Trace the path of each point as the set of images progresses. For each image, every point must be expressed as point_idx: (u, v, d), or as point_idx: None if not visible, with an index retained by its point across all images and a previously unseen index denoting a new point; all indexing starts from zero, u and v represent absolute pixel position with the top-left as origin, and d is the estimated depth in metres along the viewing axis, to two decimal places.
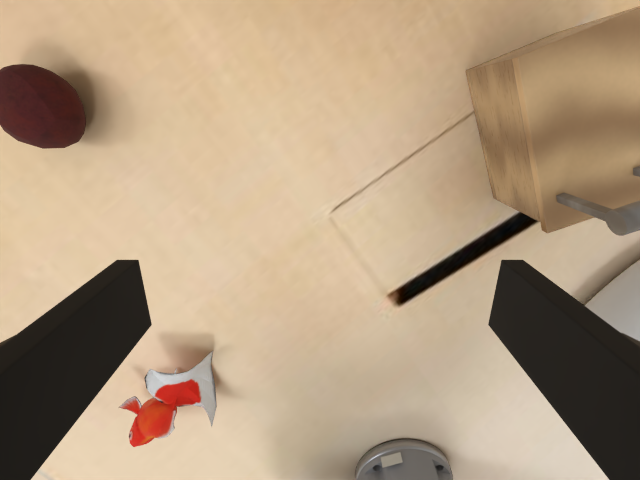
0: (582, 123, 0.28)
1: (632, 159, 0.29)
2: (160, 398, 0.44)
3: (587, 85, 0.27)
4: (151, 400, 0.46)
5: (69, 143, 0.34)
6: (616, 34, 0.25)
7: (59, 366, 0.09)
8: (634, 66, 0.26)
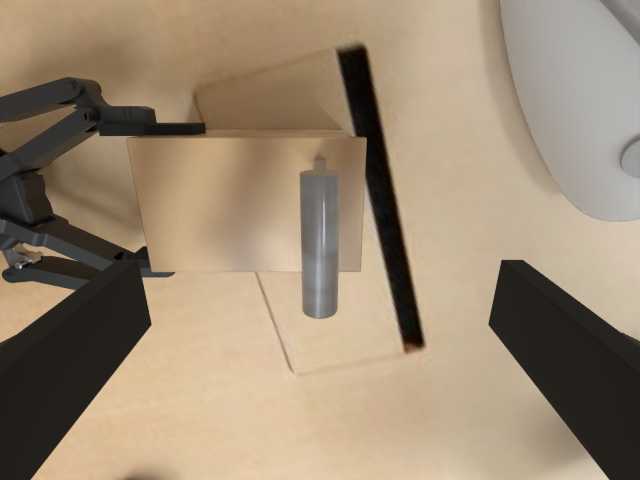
0: (238, 219, 0.24)
1: (303, 167, 0.22)
2: None
3: (197, 210, 0.23)
4: None
5: None
6: (150, 174, 0.22)
7: (59, 366, 0.09)
8: (190, 157, 0.22)
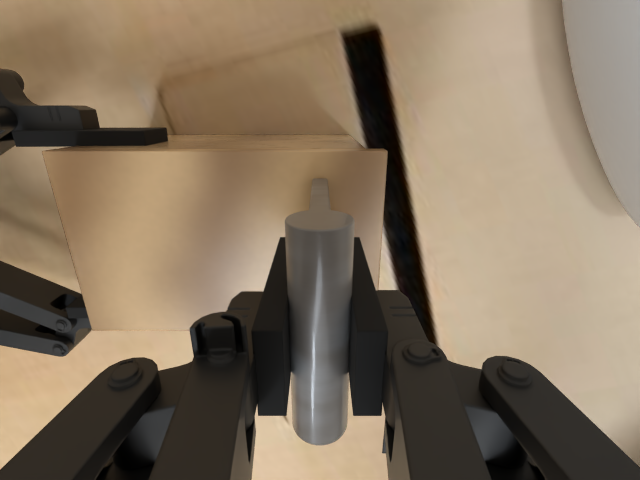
0: (207, 263, 0.17)
1: (296, 191, 0.16)
2: None
3: (149, 250, 0.17)
4: None
5: None
6: (81, 202, 0.16)
7: None
8: (135, 178, 0.16)
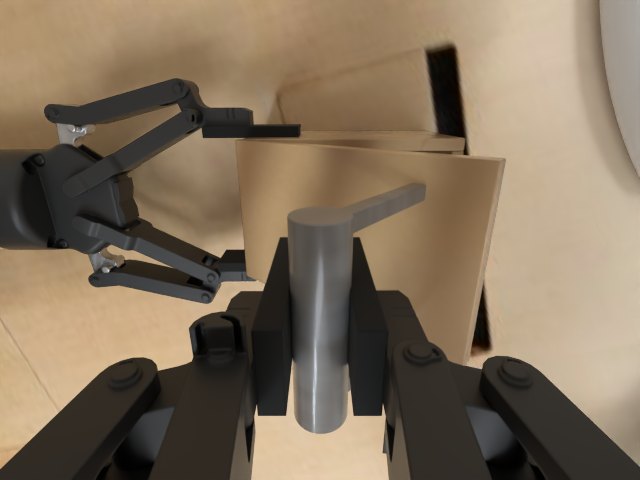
0: None
1: None
2: None
3: (282, 224, 0.21)
4: None
5: None
6: (250, 179, 0.21)
7: (290, 314, 0.11)
8: (280, 165, 0.19)
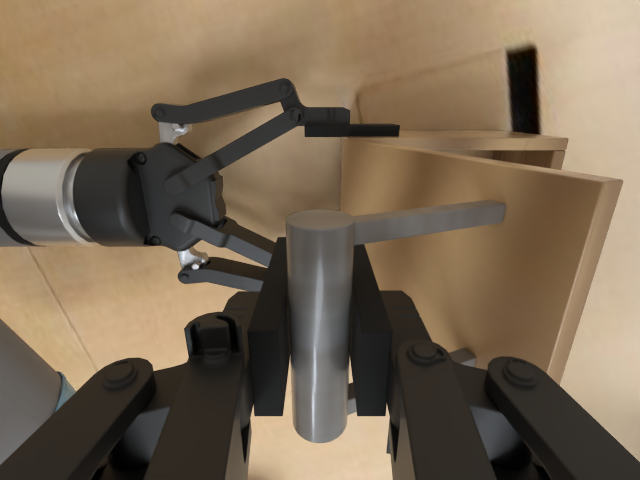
0: (396, 254, 0.18)
1: None
2: None
3: None
4: None
5: None
6: (351, 178, 0.22)
7: (287, 314, 0.11)
8: (374, 166, 0.19)
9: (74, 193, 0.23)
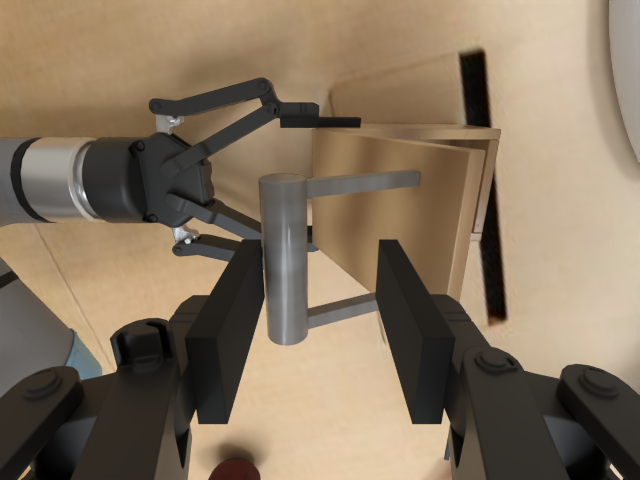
0: (353, 221, 0.22)
1: None
2: None
3: (334, 201, 0.24)
4: None
5: None
6: (318, 161, 0.26)
7: (239, 319, 0.10)
8: (335, 150, 0.23)
9: (83, 175, 0.27)
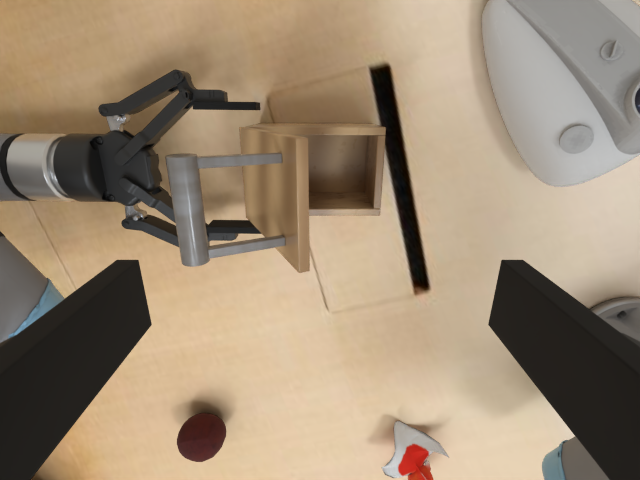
0: (261, 194, 0.31)
1: None
2: (407, 473, 0.58)
3: (252, 181, 0.33)
4: (408, 476, 0.60)
5: (223, 434, 0.57)
6: (243, 152, 0.34)
7: (59, 366, 0.09)
8: (250, 143, 0.31)
9: (54, 162, 0.36)
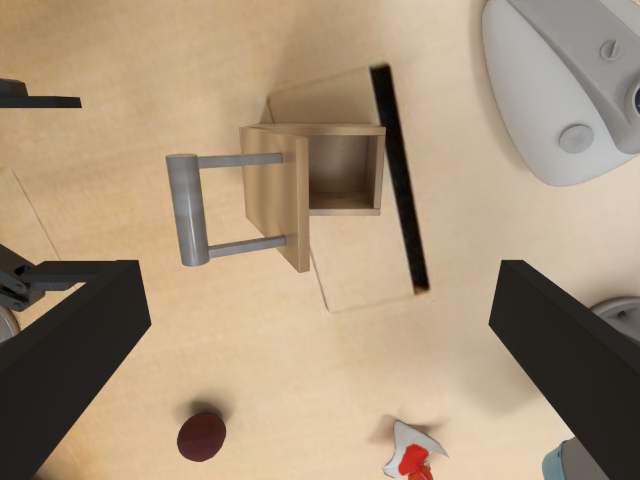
0: (261, 194, 0.31)
1: None
2: (407, 473, 0.58)
3: (252, 181, 0.33)
4: (408, 476, 0.60)
5: (223, 434, 0.57)
6: (243, 152, 0.34)
7: (59, 366, 0.09)
8: (250, 143, 0.31)
9: None
